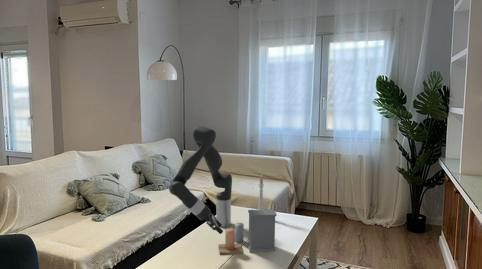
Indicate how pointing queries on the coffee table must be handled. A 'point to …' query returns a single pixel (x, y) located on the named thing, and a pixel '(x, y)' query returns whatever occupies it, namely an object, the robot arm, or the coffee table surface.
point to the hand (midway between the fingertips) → (221, 229)
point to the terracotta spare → (229, 239)
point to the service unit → (261, 230)
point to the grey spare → (239, 232)
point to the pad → (235, 251)
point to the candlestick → (261, 193)
